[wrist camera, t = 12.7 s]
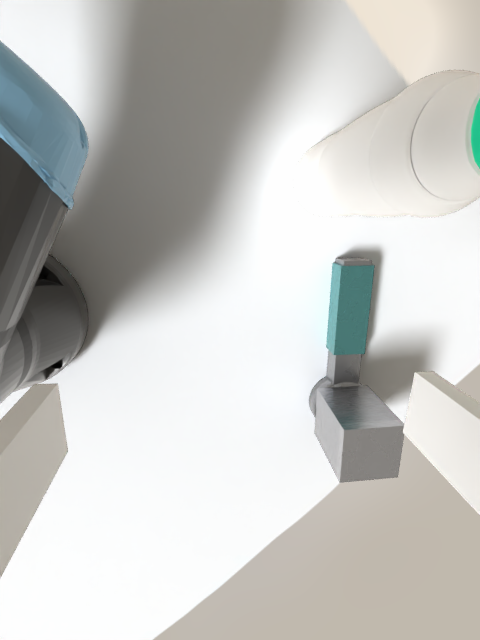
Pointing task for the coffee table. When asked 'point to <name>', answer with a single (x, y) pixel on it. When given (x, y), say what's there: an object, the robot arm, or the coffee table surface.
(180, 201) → the coffee table surface
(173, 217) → the coffee table surface
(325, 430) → the grey metal block
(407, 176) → the water bottle
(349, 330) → the ratchet
